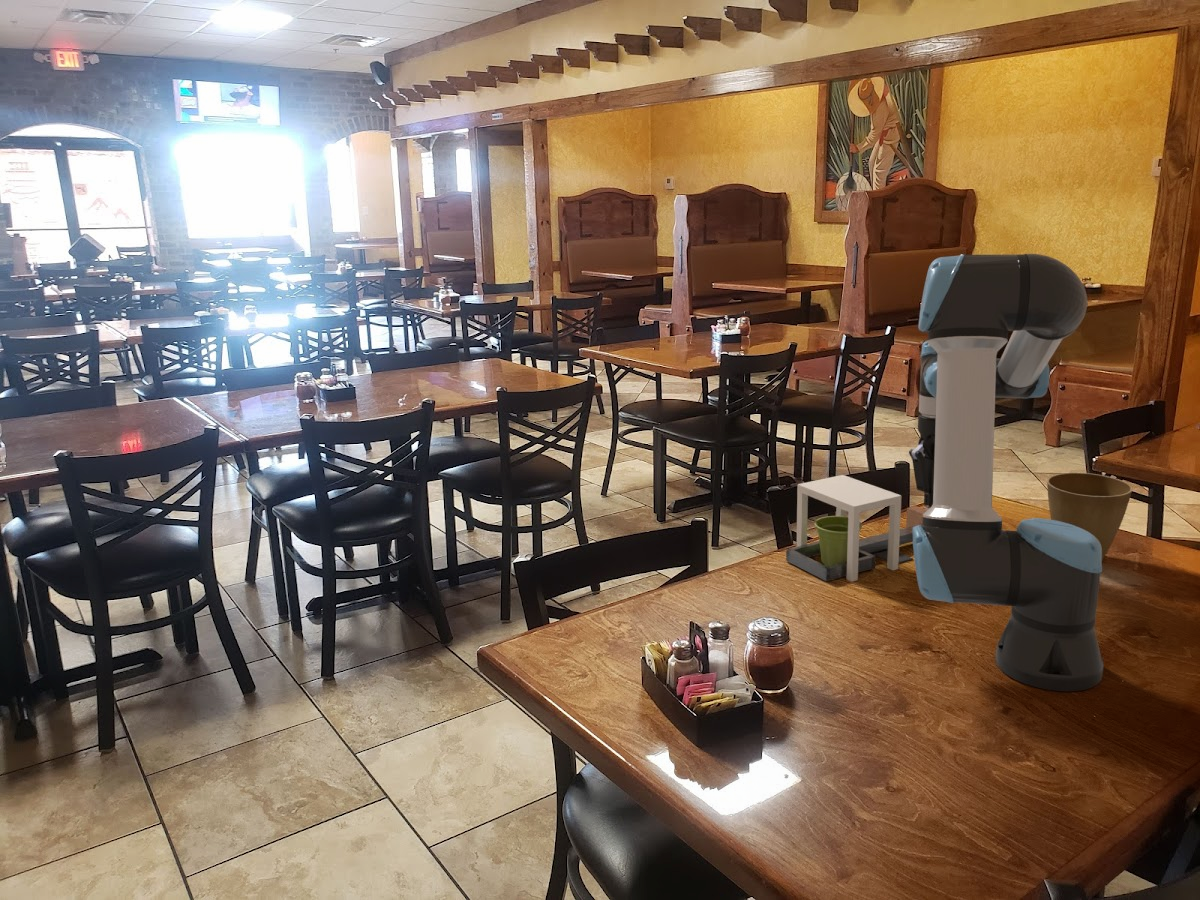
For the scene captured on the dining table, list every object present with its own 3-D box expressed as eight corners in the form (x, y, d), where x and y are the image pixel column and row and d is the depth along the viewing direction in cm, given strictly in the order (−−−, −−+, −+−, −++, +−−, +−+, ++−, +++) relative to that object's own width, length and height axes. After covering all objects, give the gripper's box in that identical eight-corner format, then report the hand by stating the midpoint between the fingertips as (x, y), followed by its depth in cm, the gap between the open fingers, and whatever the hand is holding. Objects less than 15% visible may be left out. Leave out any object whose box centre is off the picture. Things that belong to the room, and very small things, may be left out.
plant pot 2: (1024, 554, 188) (1030, 480, 184) (1074, 540, 194) (1081, 468, 190) (1088, 579, 175) (1096, 500, 171) (1140, 563, 181) (1150, 486, 177)
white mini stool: (920, 562, 186) (924, 490, 182) (851, 581, 179) (854, 506, 175) (862, 537, 201) (864, 470, 197) (796, 554, 193) (797, 484, 189)
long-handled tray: (950, 547, 193) (952, 519, 191) (826, 581, 179) (826, 551, 177) (906, 530, 204) (908, 503, 202) (786, 560, 189) (786, 532, 188)
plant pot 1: (867, 559, 189) (868, 520, 187) (851, 575, 181) (852, 534, 179) (823, 551, 194) (824, 513, 192) (806, 566, 187) (807, 526, 184)
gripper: (946, 406, 197) (940, 510, 203) (900, 415, 192) (896, 521, 198) (974, 413, 191) (967, 520, 197) (927, 422, 185) (922, 531, 191)
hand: (931, 520), depth 197 cm, fingers closed
